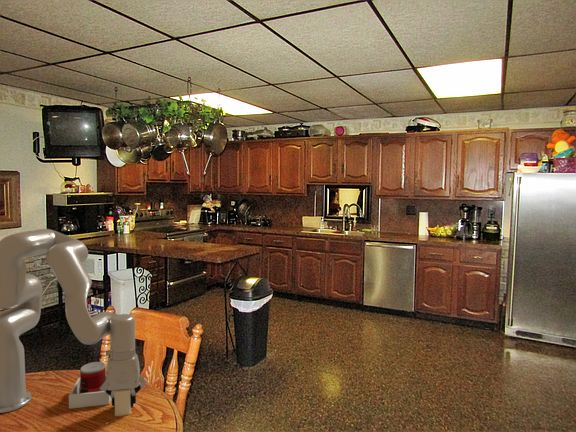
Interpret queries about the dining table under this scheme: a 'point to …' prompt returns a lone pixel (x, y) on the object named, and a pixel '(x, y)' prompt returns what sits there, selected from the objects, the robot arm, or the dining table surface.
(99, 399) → the box
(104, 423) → the dining table surface
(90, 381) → the canned food
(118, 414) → the plain beige cuboid
